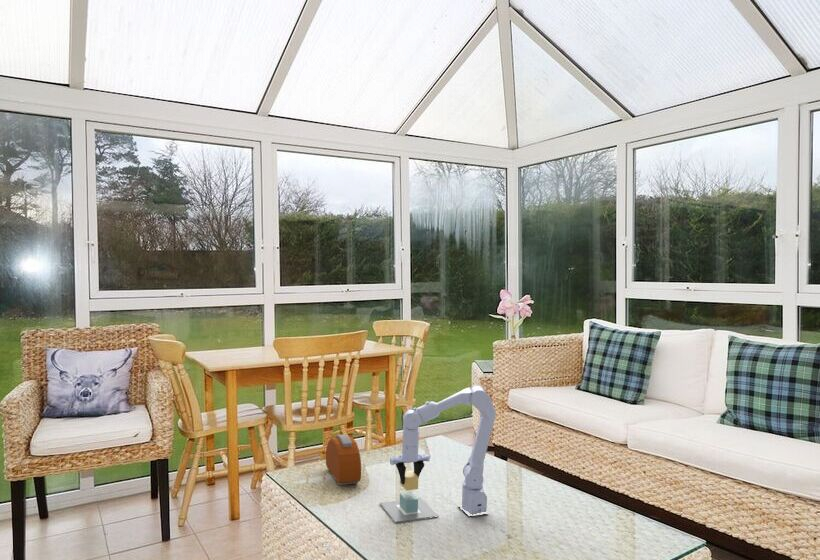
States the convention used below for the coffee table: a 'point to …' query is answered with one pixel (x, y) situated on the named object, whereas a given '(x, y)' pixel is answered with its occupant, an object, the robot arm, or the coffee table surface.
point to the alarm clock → (343, 459)
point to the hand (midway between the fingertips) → (409, 482)
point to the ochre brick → (410, 481)
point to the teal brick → (408, 502)
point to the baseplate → (400, 516)
